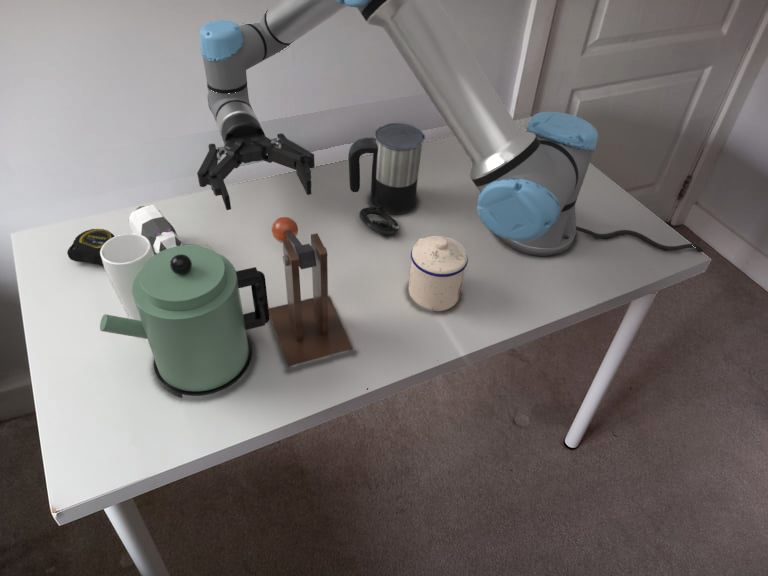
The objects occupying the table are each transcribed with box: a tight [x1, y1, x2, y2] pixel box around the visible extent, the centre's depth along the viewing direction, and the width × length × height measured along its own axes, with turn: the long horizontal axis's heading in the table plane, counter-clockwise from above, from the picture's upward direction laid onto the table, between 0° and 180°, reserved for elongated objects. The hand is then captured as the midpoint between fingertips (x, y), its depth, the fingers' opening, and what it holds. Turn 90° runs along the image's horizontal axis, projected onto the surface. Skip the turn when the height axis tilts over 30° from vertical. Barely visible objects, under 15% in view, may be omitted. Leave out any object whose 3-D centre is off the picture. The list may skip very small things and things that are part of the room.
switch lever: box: [271, 216, 317, 270], centre depth 87 cm, size 15×4×4 cm, turn 22°
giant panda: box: [128, 204, 183, 255], centre depth 99 cm, size 15×6×10 cm, turn 38°
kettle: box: [99, 244, 271, 399], centre depth 81 cm, size 22×14×20 cm, turn 112°
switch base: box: [269, 232, 353, 367], centre depth 87 cm, size 12×10×18 cm
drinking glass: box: [100, 232, 154, 321], centre depth 88 cm, size 7×7×15 cm
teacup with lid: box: [407, 235, 469, 312], centre depth 97 cm, size 12×9×12 cm
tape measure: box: [66, 228, 115, 267], centre depth 101 cm, size 7×7×4 cm
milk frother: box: [347, 122, 427, 237], centre depth 111 cm, size 14×16×15 cm
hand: (269, 195), depth 98 cm, fingers open, 13 cm apart
